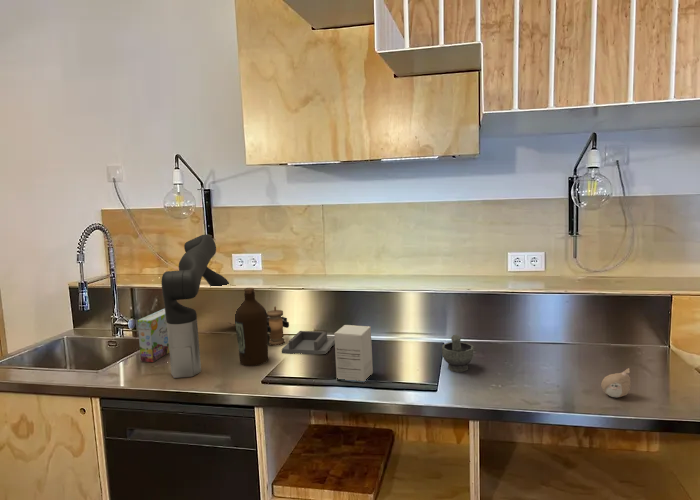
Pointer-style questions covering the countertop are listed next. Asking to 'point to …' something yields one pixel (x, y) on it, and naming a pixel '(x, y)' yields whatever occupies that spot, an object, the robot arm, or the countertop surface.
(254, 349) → the olive oil
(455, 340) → the mortar and pestle
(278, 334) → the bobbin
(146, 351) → the snack box
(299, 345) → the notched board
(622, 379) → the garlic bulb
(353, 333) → the supplement box
